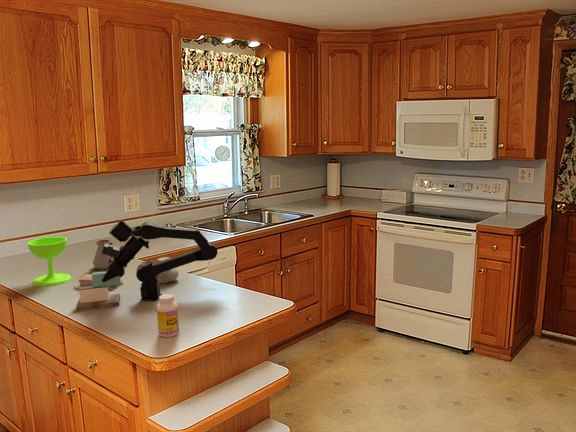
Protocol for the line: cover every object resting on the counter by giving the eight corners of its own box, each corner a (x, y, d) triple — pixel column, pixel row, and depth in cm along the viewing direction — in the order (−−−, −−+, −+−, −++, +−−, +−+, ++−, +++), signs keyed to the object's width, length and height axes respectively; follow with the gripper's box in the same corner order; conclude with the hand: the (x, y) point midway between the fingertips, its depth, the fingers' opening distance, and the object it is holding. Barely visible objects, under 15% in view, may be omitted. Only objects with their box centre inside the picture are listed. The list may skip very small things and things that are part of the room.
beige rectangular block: (108, 297, 212) (107, 284, 211) (108, 300, 209) (106, 286, 208) (81, 300, 209) (79, 287, 208) (80, 303, 207) (78, 289, 206)
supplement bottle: (166, 339, 175) (163, 301, 172) (154, 334, 179) (151, 297, 177) (183, 332, 180) (180, 295, 177) (171, 328, 184) (168, 291, 182)
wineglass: (54, 273, 252) (49, 235, 249) (79, 277, 245) (75, 238, 242) (24, 283, 238) (18, 243, 234) (50, 288, 231) (45, 246, 227)
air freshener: (181, 279, 238) (180, 256, 236) (173, 285, 230) (171, 262, 228) (159, 277, 240) (157, 255, 239) (149, 283, 233) (147, 260, 231)
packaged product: (123, 273, 233) (110, 280, 224) (124, 284, 234) (111, 292, 225) (86, 271, 238) (72, 278, 229) (87, 282, 239) (73, 289, 229)
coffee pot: (90, 267, 261) (87, 236, 258) (114, 262, 267) (112, 232, 264) (102, 277, 243) (98, 245, 240) (127, 272, 249) (124, 240, 246)
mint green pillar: (120, 282, 212) (119, 269, 211) (120, 284, 209) (119, 271, 208) (93, 284, 209) (92, 272, 208) (93, 286, 207) (91, 274, 206)
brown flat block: (120, 297, 216) (119, 293, 216) (119, 305, 207) (118, 302, 207) (80, 301, 213) (79, 298, 213) (76, 310, 203) (76, 306, 203)
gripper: (114, 231, 216) (88, 261, 215) (111, 242, 198) (82, 274, 197) (137, 248, 219) (110, 278, 218) (136, 260, 201) (107, 292, 201)
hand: (102, 280), depth 209 cm, fingers closed on mint green pillar, 2 cm apart
